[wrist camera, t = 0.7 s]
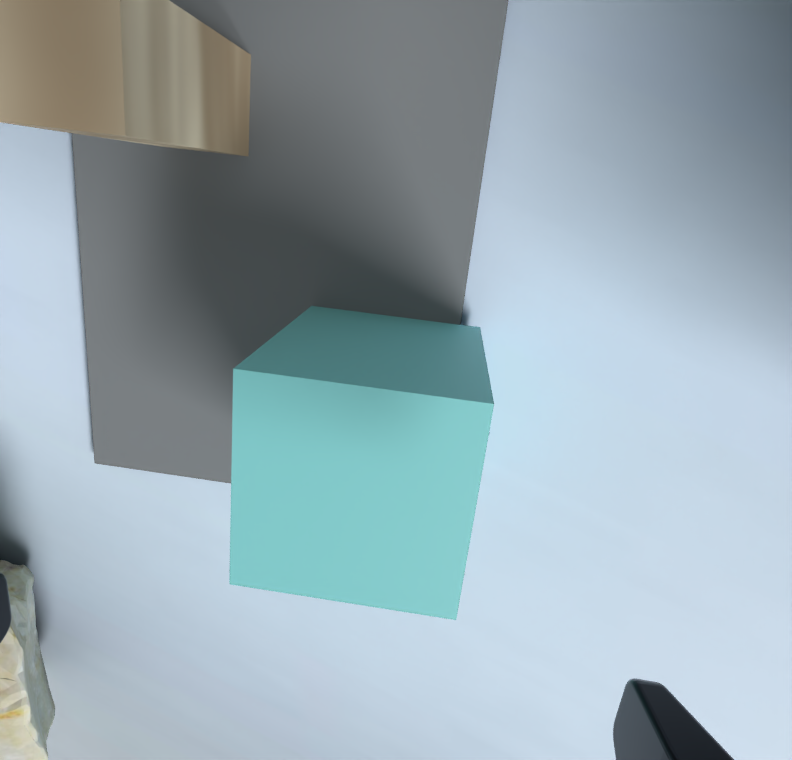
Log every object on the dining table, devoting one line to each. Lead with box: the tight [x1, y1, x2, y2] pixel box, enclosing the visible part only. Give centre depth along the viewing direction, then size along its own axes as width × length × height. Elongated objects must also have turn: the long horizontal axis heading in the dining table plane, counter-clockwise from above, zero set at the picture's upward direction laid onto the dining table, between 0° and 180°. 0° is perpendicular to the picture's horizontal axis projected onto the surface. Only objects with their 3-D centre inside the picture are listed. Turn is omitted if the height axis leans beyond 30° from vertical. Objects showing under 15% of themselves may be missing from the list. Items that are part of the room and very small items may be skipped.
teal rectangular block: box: [230, 306, 494, 620], centre depth 15 cm, size 5×5×7 cm
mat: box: [72, 0, 508, 483], centre depth 16 cm, size 12×25×1 cm, turn 174°
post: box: [0, 0, 251, 156], centre depth 13 cm, size 3×3×6 cm
